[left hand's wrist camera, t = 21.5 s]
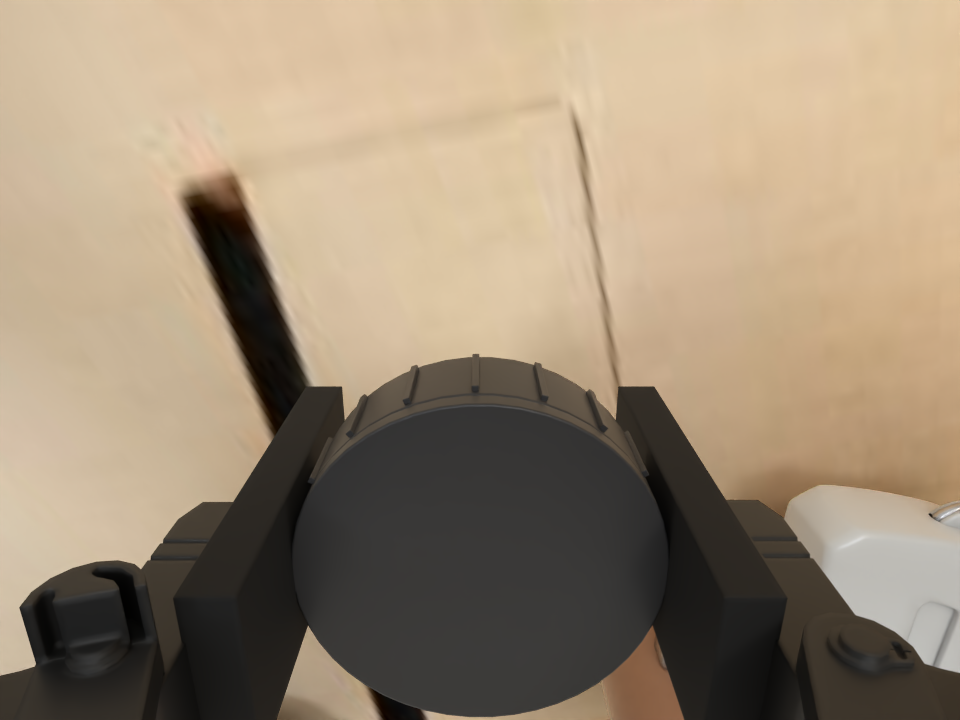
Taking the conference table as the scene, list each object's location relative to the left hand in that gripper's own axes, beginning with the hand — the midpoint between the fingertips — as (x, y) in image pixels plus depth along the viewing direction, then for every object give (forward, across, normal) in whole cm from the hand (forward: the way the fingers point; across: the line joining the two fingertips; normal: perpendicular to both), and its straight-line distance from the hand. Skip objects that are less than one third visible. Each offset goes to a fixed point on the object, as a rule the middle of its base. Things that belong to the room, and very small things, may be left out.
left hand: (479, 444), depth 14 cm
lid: (-4, 0, 0) cm, 4 cm away
